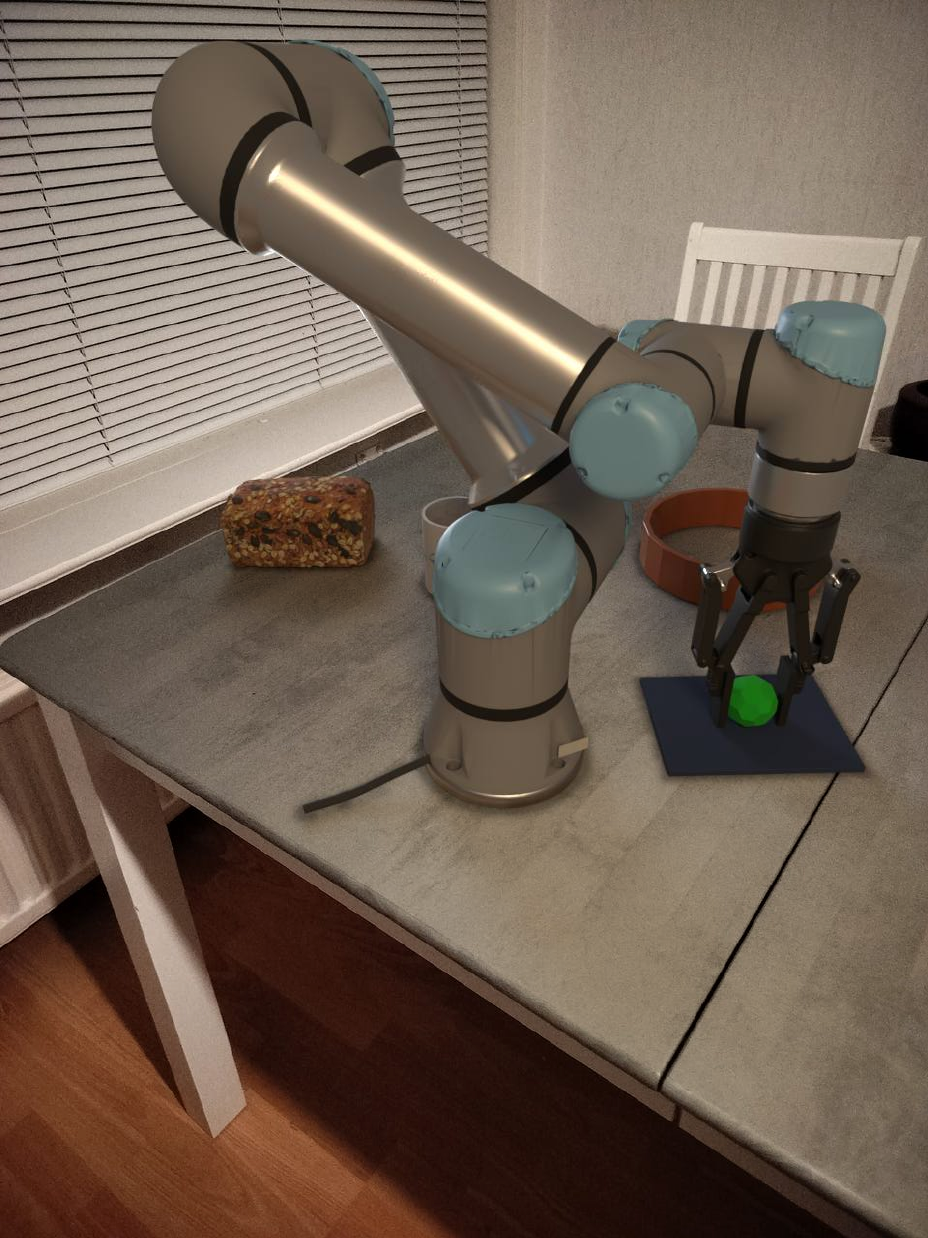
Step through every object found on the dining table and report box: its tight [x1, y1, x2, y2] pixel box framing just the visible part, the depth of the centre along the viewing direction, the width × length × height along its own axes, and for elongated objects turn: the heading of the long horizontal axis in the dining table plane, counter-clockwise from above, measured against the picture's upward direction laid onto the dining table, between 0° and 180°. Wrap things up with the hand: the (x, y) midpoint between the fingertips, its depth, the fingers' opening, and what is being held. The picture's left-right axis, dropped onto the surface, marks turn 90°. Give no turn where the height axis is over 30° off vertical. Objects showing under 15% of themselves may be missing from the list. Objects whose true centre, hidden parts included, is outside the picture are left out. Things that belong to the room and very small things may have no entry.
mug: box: [421, 495, 472, 596], centre depth 100 cm, size 12×9×10 cm
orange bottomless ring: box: [638, 487, 824, 612], centre depth 105 cm, size 23×23×6 cm
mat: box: [639, 673, 867, 777], centre depth 81 cm, size 18×14×1 cm
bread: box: [220, 475, 377, 568], centre depth 109 cm, size 19×11×10 cm, turn 85°
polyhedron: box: [728, 674, 778, 727], centre depth 80 cm, size 5×5×5 cm
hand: (747, 717), depth 81 cm, fingers open, 5 cm apart
